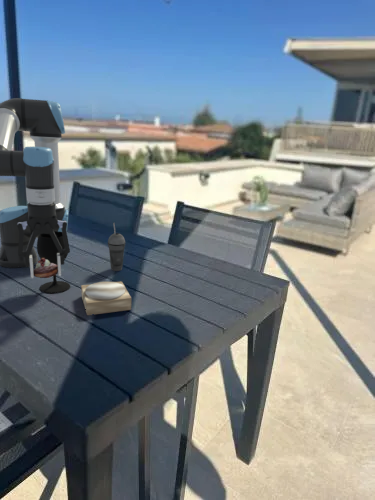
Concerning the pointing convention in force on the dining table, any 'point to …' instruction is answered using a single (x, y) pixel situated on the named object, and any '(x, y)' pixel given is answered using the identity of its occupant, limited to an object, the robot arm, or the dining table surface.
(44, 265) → the pastry
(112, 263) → the beverage cup
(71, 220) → the dining table surface
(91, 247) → the dining table surface
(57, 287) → the wine glass
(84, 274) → the dining table surface
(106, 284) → the plinth
